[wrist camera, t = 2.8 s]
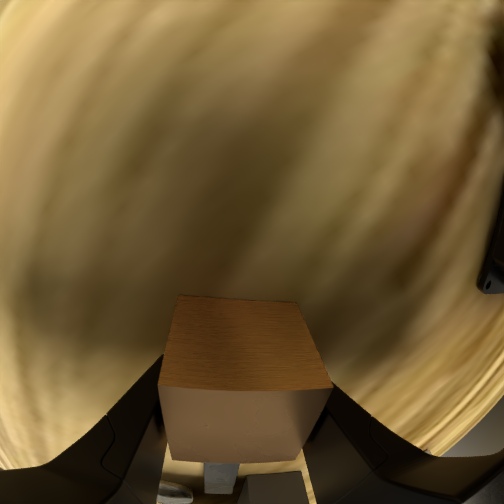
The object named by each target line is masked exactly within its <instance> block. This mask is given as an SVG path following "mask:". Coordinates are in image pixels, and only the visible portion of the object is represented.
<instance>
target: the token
mask: <svg viewBox="0 0 504 504" xmlns="http://www.w3.org/2000/svg"><path fill="white" fill-rule="evenodd" d="M157 502H159V503H164V504H189V503H192V502H193V491H192V490H191V489H190V488H188V487H186V486H183V485H180V484H177V483H173V482H168V481H163V480H160V484H159V490H158V496H157Z"/></svg>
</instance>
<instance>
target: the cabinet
mask: <svg viewBox="0 0 504 504" xmlns="http://www.w3.org/2000/svg"><path fill="white" fill-rule="evenodd" d="M237 504H309V500H308V496H307V492H306V488H305V484H304V480H303V476H302V472H301V471H297V472H288V473H278V474H264V475H247V477H246V480H245V483H244V485H243V488H242V491H241V494H240V496H239V499H238V502H237Z"/></svg>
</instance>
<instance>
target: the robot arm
mask: <svg viewBox="0 0 504 504" xmlns="http://www.w3.org/2000/svg"><path fill="white" fill-rule="evenodd" d="M478 289H479V290H480V291H481V292H483V293H484V294H497V293H504V192H503V198H502V203H501V208H500V213H499V217H498V221H497V226H496V230H495V233H494V237H493V241H492V244H491V248H490V251H489V254H488V258H487V261H486V264H485V267H484V270H483V273H482V275H481V278H480V281H479V284H478ZM163 357H164V354H162V355H161V356H160V357H159V358H158V359H157V360H156V361H155V362H154V364H153V365H152V366H151V367H150V368H149V369H148V370H147V371H146V372H145V373H144V374H143V375H142V376H141V377H140V378H139V379H138V381H137V382H136V383H135V384H134V385H133V386H132V387H131V388H130V389H129V390H128V391H127V392H126V393H125V394H124V395H123V396H122V397H121V399H120V400H119V401H118V402H117V403H116V404H115V405H114V406H113V407H112V408H111V409H110V410H109V411H108V412H107V415H104V416H103V417H102V418H101V420H100V421H99V422H98V423H97V424H96V425H95V426H94V427H92V428H91V429H90V430H89V431H88V432H87V433H86V434H85V435H84V436H82V437H81V438H80V439H79V440H78V441H76V442H75V443H74V444H72V445H71V446H70V447H69V448H67V449H66V450H65V451H63V452H62V453H61V454H60V455H58V456H57V457H56V458H54V459H53V460H51V461H50V462H48V463H46V464H43V465H41V466H37V467H30V468H21V469H11V470H0V504H156V502H157V496H158V490H159V484H160V479H161V473H162V468H163V462H164V457H165V452H166V447H167V442H168V440H167V435H166V430H165V425H164V420H163V414H162V409H161V403H160V397H159V391H158V381H159V376H160V371H161V367H162V362H163ZM331 382H332V381H331ZM332 385H333V387H334V388H333V390H332V392H331V394H330V396H329V398H328V400H327V402H326V404H325V406H324V408H323V410H322V412H321V414H320V416H319V418H318V420H317V422H316V424H315V426H314V428H313V429H312V431H311V433H310V435H309V437H308V438H307V440H306V442H305V444H304V445H303V447H302V449H303V453H304V457H305V461H306V464H307V468H308V472H309V476H310V480H311V483H312V487H313V491H314V495H315V498H316V502H317V504H504V448H503V449H502V450H501V451H499V452H498V453H495V454H492V455H487V456H474V457H438V456H433V455H431V454H428V453H426V452H424V451H423V450H421V449H419V448H418V447H416V446H414V445H413V444H411V443H409V442H408V441H406V440H405V439H403V438H401V437H400V436H398V435H397V434H395V433H394V432H392V431H391V430H390V429H388V428H387V427H386V426H384V425H383V424H382V423H380V422H379V421H378V420H377V419H376V418H374V417H373V416H372V417H371V414H369V413H368V412H367V411H366V410H365V409H363V408H362V407H361V406H360V405H359V404H357V403H356V402H355V401H354V400H353V399H351V398H350V397H349V396H348V395H347V394H346V393H344V392H343V391H342V390H341V389H340V388H339V387H337V386H336V385H335V384H334V383H333V382H332Z"/></svg>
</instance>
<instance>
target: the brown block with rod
mask: <svg viewBox="0 0 504 504" xmlns="http://www.w3.org/2000/svg"><path fill="white" fill-rule="evenodd" d="M333 388H334V387H333V385H332V382H331V380H330V378H329V376H328V373H327V371H326V369H325V366H324V364H323V362H322V359H321V357H320V355H319V353H318V350H317V348H316V346H315V344H314V341H313V339H312V337H311V335H310V332H309V330H308V328H307V326H306V323H305V321H304V319H303V317H302V314H301V312H300V310H299V308H298V306H297V303H293V302H270V301H252V300H236V299H221V298H208V297H195V296H184V295H179V296H178V300H177V304H176V308H175V312H174V316H173V320H172V324H171V328H170V332H169V336H168V340H167V344H166V349H165V353H164V357H163V362H162V367H161V371H160V376H159V381H158V391H159V397H160V403H161V409H162V414H163V420H164V425H165V430H166V435H167V440H168V444H169V449H170V453H171V457H172V460H179V461H190V462H204V484H205V493H209V494H232V492H233V488H234V484H235V480H236V477H237V473H238V469H239V465H240V463H266V462H280V461H291V460H295V459H296V457H297V456H298V454H299V452H300V451H301V449H302V447H303V445H304V444H305V442H306V440H307V438H308V437H309V435H310V433H311V431H312V429H313V428H314V426H315V424H316V422H317V420H318V418H319V416H320V414H321V412H322V410H323V408H324V406H325V404H326V402H327V400H328V398H329V396H330V394H331V392H332V390H333Z"/></svg>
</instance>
